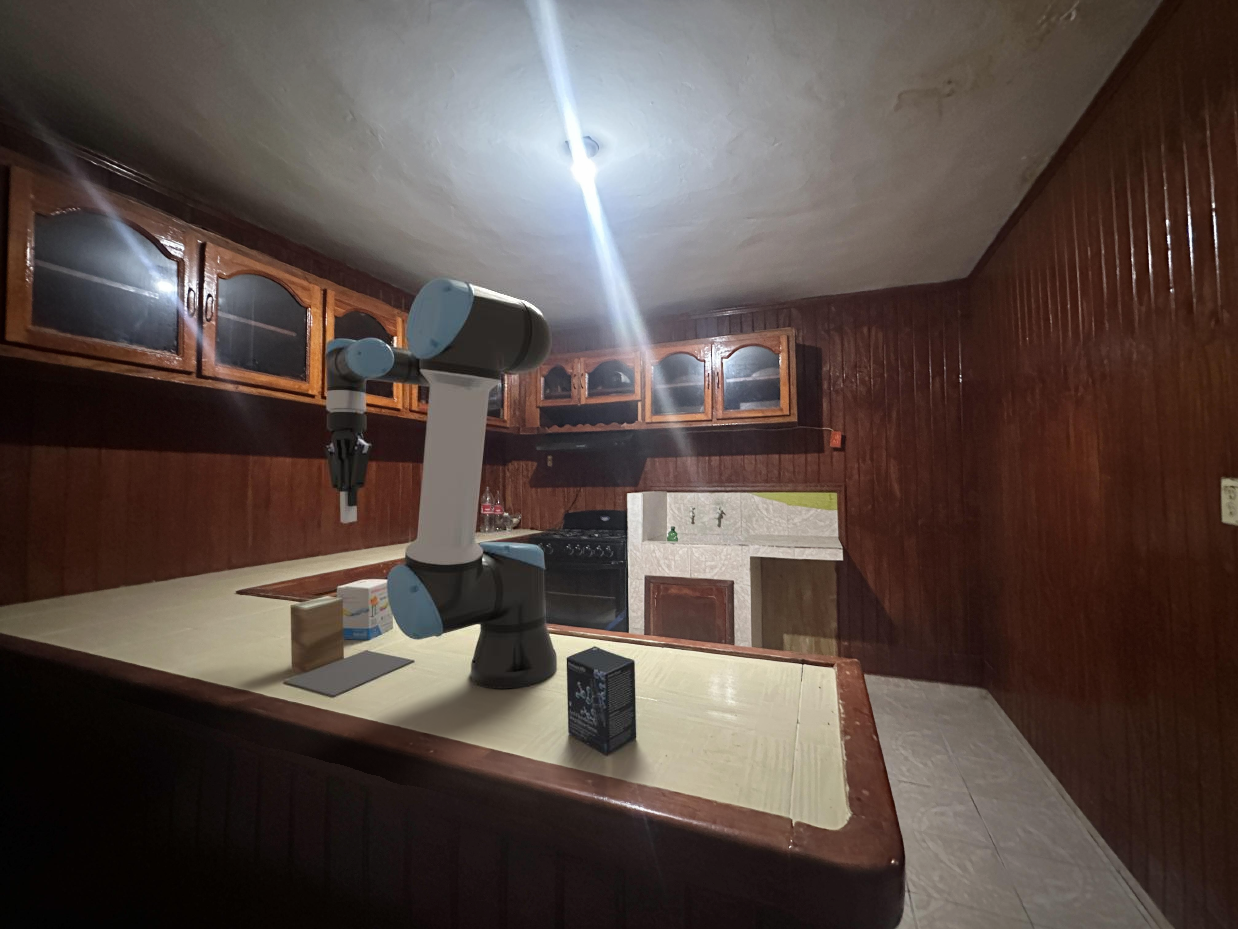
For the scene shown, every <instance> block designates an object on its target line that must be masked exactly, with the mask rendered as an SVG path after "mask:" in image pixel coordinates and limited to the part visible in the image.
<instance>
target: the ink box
mask: <svg viewBox="0 0 1238 929" xmlns="http://www.w3.org/2000/svg"><path fill="white" fill-rule="evenodd" d="M336 598H343V640H356V641H357V640H358V641H359V640H361V641H370V640H373V639H375V638H376V637H378V636H381V635H382V634H385V633H386V631H387V632H388V631H391V630H393V629H394V617H393V614H392V611H391V608H390V605H389V600H388V594H387V579H384V578H383V579H379V578H377V579H376V578H369V579H360V580H357V581H353V582H350V583H346V584H343V585H338V586H337V587H336Z"/></svg>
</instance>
